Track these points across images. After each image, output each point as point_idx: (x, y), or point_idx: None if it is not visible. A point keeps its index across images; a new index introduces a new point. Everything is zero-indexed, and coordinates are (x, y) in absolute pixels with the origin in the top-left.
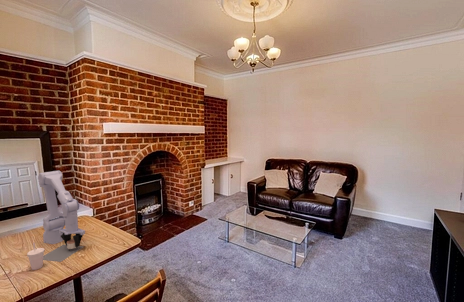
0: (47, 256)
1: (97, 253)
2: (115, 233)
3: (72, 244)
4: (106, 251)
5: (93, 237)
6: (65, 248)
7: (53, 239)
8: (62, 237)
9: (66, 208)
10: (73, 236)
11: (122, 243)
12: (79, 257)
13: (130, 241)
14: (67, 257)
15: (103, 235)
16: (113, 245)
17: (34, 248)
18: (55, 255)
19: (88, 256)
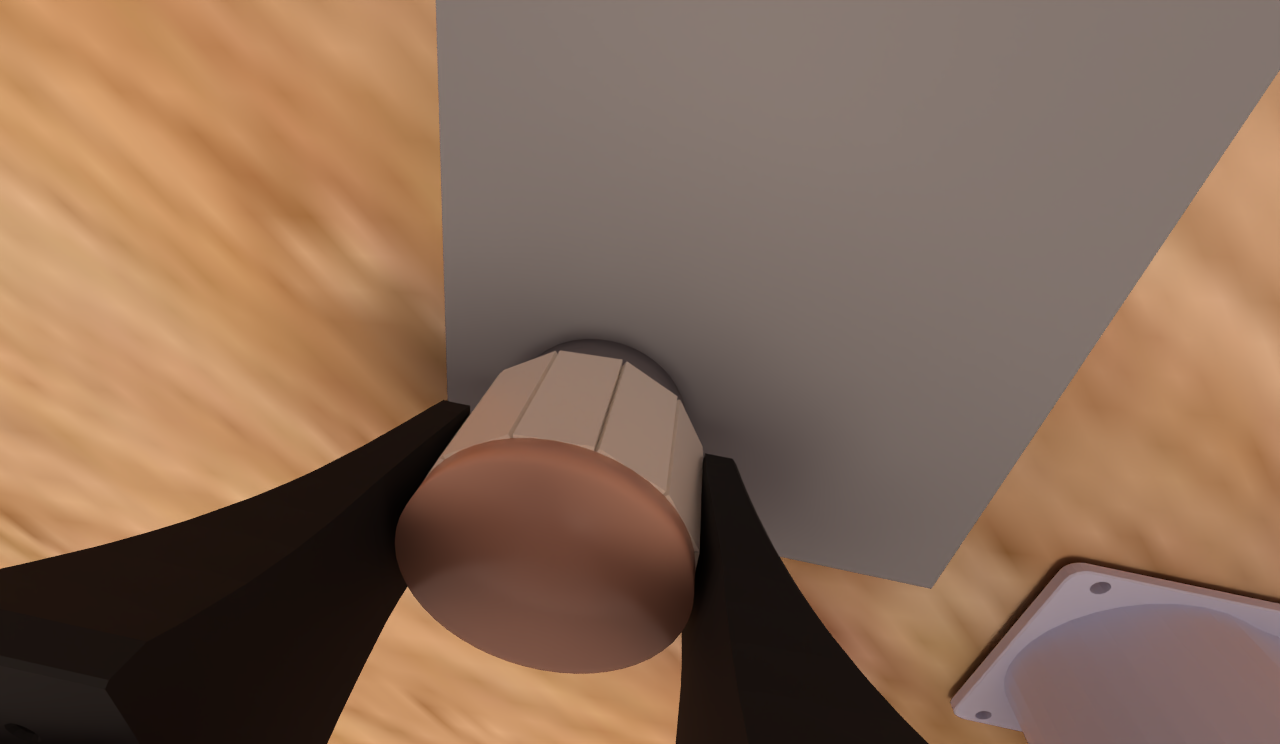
0: (1075, 105)
1: (115, 296)
2: (381, 739)
3: (472, 431)
4: (37, 349)
5: (595, 709)
6: (792, 454)
7: (1242, 738)
8: (847, 726)
9: None
10: (57, 681)
11: (54, 533)
12: (309, 164)
13: (8, 563)
14: (439, 40)
15: (495, 727)
16: (119, 500)
17: None
18: (854, 160)
19: (168, 197)
